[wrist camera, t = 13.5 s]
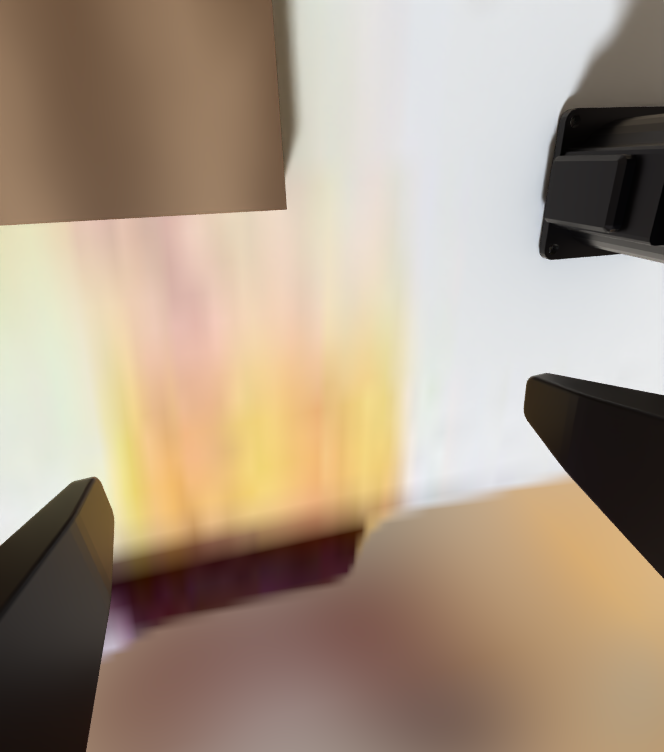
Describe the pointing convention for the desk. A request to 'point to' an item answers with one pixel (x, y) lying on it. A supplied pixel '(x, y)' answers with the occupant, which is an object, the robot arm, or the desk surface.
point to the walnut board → (138, 109)
